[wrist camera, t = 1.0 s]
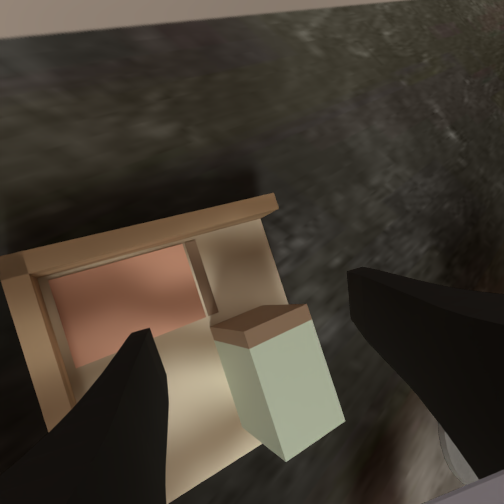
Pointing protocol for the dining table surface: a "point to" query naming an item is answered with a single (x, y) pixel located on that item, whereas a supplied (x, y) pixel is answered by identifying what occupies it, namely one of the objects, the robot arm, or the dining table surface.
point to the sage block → (278, 377)
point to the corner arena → (149, 319)
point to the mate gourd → (455, 459)
